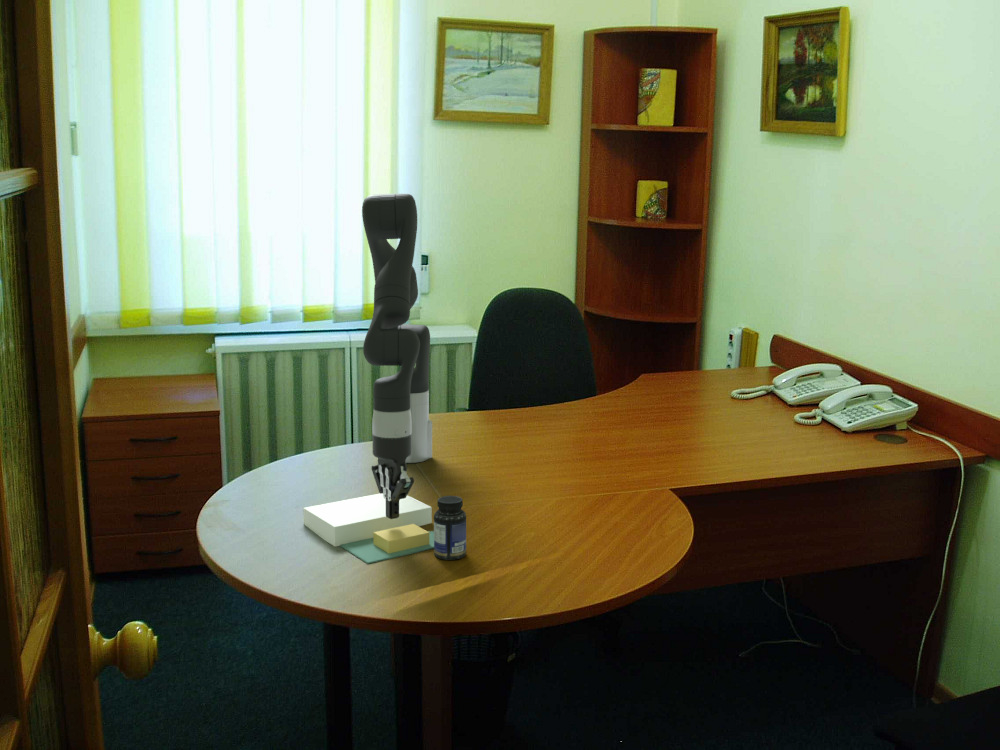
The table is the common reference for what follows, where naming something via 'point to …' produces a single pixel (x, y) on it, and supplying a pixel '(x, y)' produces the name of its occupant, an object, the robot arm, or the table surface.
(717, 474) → the table surface
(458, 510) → the pill bottle
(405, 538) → the cream yellow sponge block
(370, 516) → the white rectangular block
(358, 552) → the mat
